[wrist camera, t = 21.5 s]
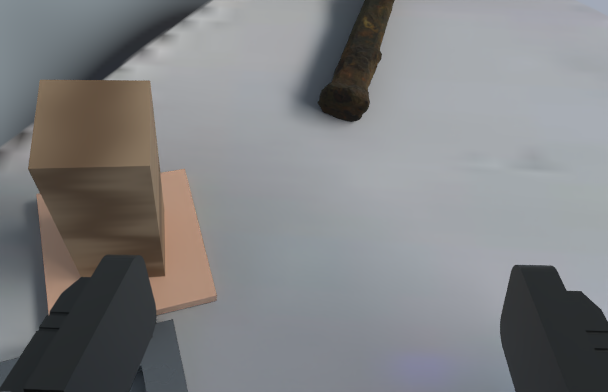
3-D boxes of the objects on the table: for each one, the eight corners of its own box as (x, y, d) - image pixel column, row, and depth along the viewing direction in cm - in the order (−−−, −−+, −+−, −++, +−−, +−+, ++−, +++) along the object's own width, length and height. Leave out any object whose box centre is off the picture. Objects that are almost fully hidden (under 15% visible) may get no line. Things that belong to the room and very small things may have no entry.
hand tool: (358, 131, 46) (373, 94, 42) (314, 113, 46) (325, 75, 42) (408, 0, 56) (425, -40, 52) (372, -14, 56) (386, -55, 52)
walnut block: (164, 208, 37) (150, 80, 26) (165, 276, 35) (149, 165, 24) (87, 211, 36) (40, 79, 25) (83, 281, 34) (28, 168, 23)
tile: (185, 176, 40) (184, 168, 39) (216, 300, 36) (216, 295, 35) (40, 201, 37) (36, 194, 36) (54, 340, 33) (51, 335, 32)
